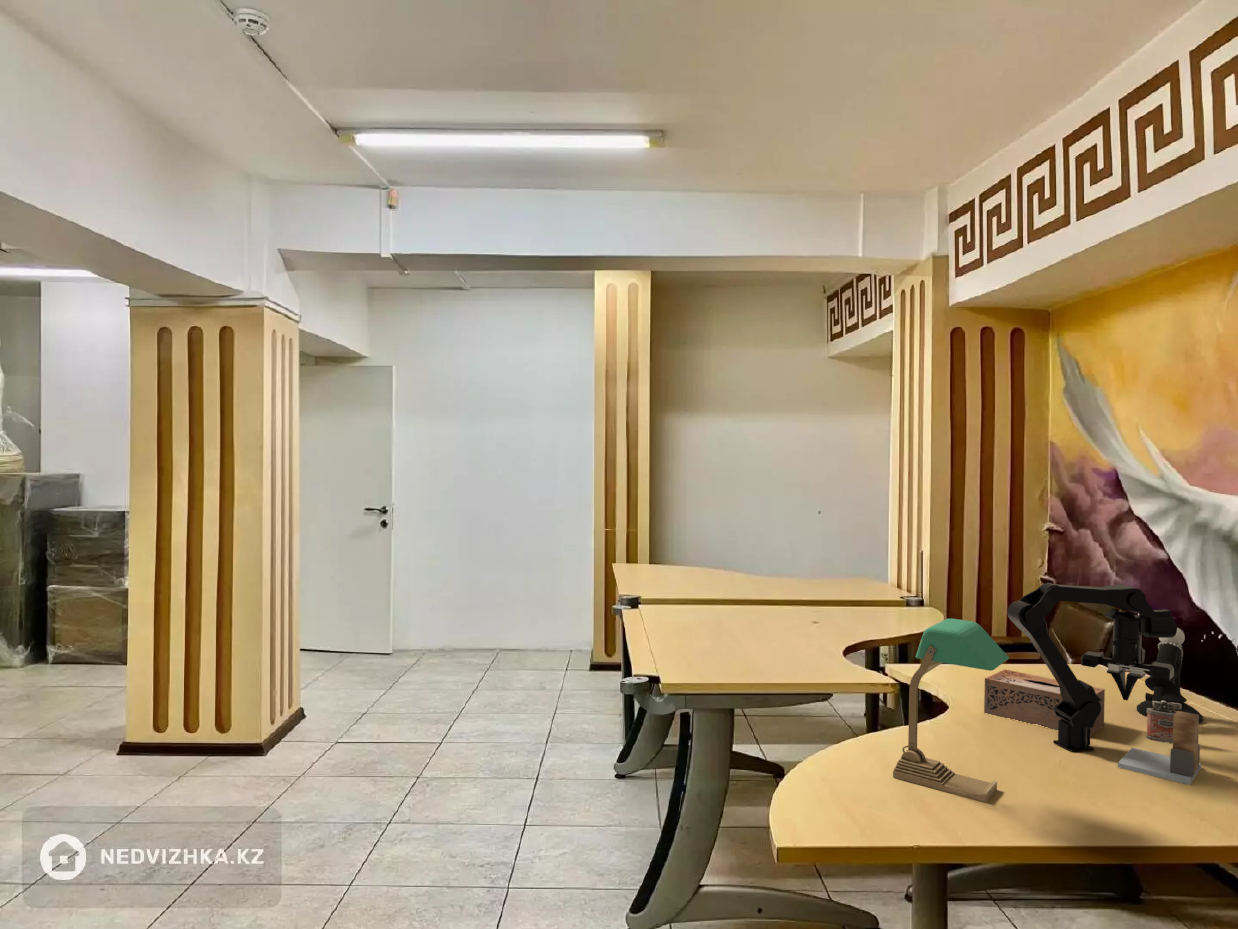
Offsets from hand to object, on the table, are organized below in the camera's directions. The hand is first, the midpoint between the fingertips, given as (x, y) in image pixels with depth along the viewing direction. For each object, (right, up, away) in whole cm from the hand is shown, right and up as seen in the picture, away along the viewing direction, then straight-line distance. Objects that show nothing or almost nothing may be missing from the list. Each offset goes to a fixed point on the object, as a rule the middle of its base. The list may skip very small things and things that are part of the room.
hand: (1125, 700), depth 195 cm
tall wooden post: (+4, -11, -15) cm, 19 cm away
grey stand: (0, -12, -12) cm, 17 cm away
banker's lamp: (-54, -12, -23) cm, 60 cm away
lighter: (+14, -12, +6) cm, 20 cm away
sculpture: (+26, -12, +23) cm, 37 cm away
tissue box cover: (-9, -12, +22) cm, 27 cm away
